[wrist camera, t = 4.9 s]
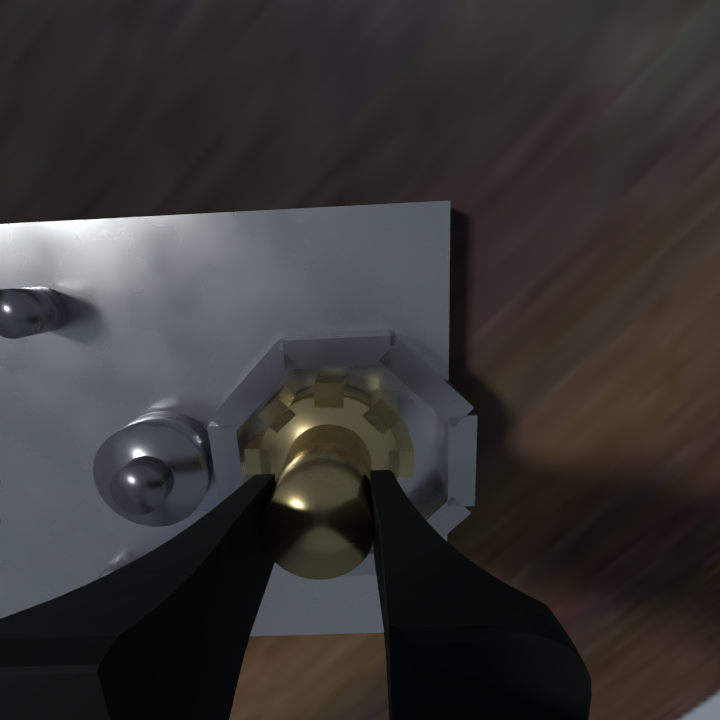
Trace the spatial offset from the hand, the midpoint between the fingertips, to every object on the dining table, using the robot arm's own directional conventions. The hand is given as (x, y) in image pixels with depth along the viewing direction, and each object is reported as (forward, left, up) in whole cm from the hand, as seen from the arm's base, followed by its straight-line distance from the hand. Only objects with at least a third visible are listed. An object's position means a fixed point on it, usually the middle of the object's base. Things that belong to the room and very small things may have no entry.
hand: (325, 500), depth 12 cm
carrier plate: (0, +7, -4) cm, 8 cm away
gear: (0, 0, -3) cm, 3 cm away
